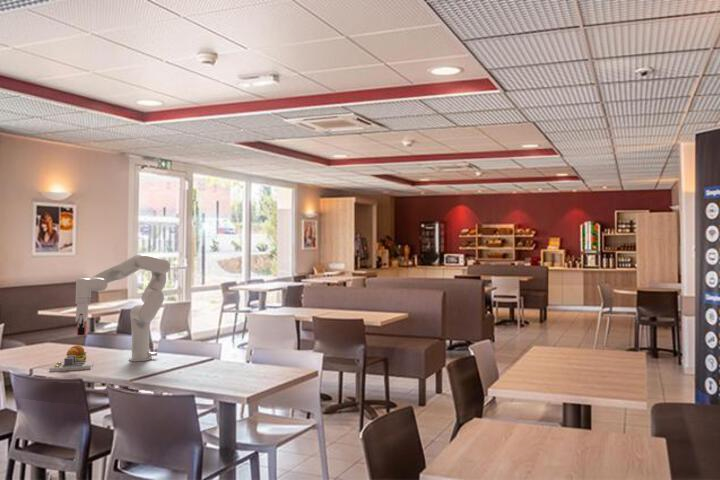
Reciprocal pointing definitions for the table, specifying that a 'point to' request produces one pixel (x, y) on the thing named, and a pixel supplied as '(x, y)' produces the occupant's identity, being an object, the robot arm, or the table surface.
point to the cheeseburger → (77, 352)
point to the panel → (71, 366)
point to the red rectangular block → (84, 331)
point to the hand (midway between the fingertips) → (81, 333)
